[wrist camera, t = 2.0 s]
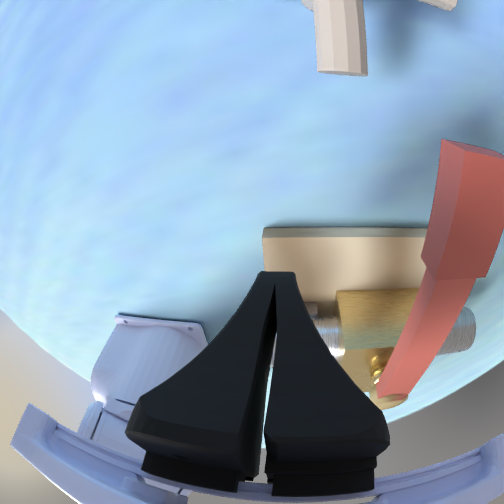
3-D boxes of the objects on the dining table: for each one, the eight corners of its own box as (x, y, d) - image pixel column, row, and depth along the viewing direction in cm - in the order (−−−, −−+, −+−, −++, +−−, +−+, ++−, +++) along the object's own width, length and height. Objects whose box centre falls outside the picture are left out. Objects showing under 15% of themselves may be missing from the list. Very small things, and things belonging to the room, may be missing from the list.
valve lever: (399, 391, 14) (402, 409, 13) (363, 395, 15) (365, 414, 14) (494, 151, 6) (518, 164, 5) (441, 139, 6) (464, 150, 5)
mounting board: (272, 357, 25) (271, 367, 24) (263, 228, 17) (261, 237, 16) (424, 349, 23) (427, 358, 22) (475, 229, 15) (483, 238, 14)
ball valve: (270, 335, 22) (262, 406, 17) (266, 285, 19) (256, 365, 14) (441, 326, 20) (462, 385, 14) (463, 279, 17) (497, 341, 11)
